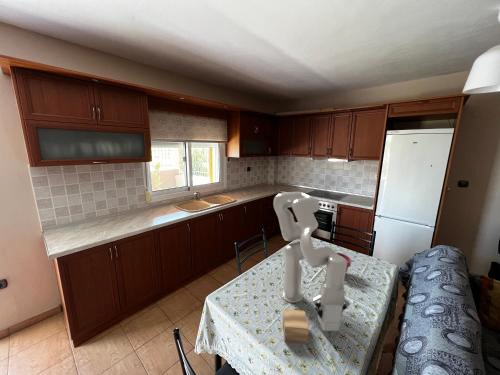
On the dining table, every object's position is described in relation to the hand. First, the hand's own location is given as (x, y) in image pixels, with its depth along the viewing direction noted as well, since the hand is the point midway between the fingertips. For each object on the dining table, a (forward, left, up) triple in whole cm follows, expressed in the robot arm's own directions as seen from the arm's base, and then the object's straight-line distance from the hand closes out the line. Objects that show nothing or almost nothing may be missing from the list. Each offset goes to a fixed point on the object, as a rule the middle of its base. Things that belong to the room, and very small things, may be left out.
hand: (328, 316), depth 95 cm
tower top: (+2, -15, -4) cm, 16 cm away
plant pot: (-46, +21, -8) cm, 51 cm away
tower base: (+2, -15, -8) cm, 18 cm away
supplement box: (0, 0, -5) cm, 5 cm away
